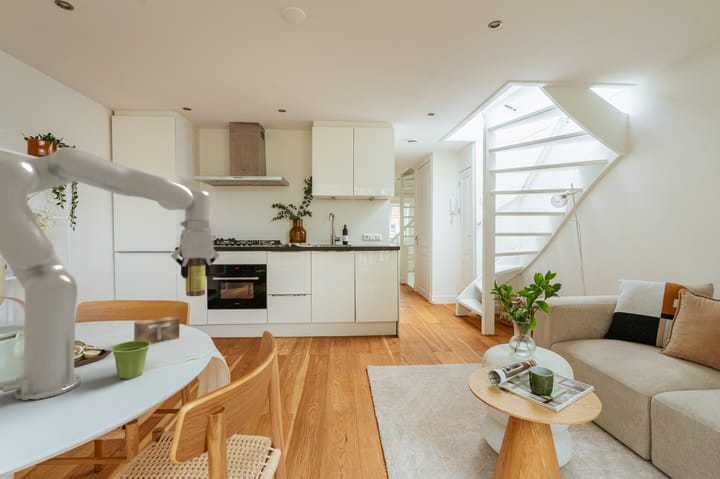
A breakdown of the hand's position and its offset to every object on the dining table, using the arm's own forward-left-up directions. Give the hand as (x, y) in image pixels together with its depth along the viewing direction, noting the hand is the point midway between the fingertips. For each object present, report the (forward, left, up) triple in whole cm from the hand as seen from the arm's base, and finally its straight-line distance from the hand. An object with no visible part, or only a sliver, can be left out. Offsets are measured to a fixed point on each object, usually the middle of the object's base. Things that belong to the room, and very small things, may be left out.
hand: (195, 276), depth 109 cm
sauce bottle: (0, 0, -7) cm, 7 cm away
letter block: (-6, +22, -27) cm, 36 cm away
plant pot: (-19, -6, -27) cm, 34 cm away
